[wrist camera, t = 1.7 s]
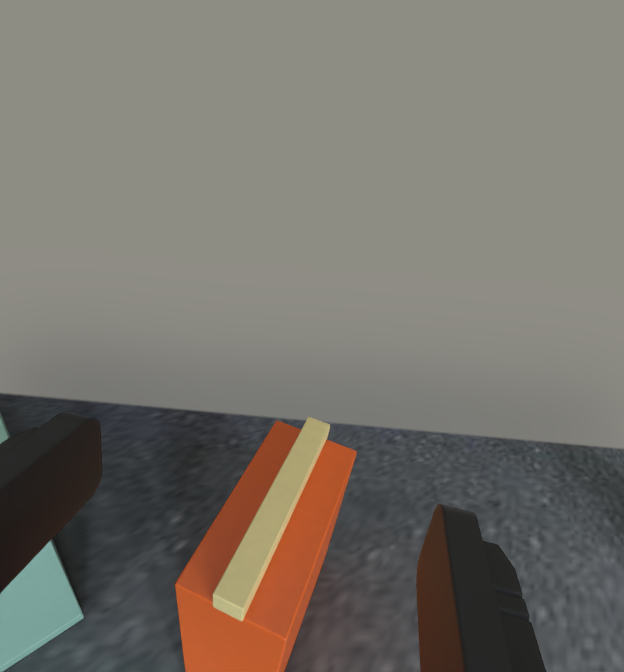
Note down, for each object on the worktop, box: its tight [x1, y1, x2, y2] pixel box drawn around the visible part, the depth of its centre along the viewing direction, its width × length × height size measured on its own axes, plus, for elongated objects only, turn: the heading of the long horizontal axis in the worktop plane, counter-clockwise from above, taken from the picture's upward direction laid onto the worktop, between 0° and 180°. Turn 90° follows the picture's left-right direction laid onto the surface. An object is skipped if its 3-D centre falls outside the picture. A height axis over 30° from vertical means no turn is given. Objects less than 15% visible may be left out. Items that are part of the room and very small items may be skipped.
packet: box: [175, 417, 357, 672], centre depth 22 cm, size 4×9×12 cm, turn 159°
